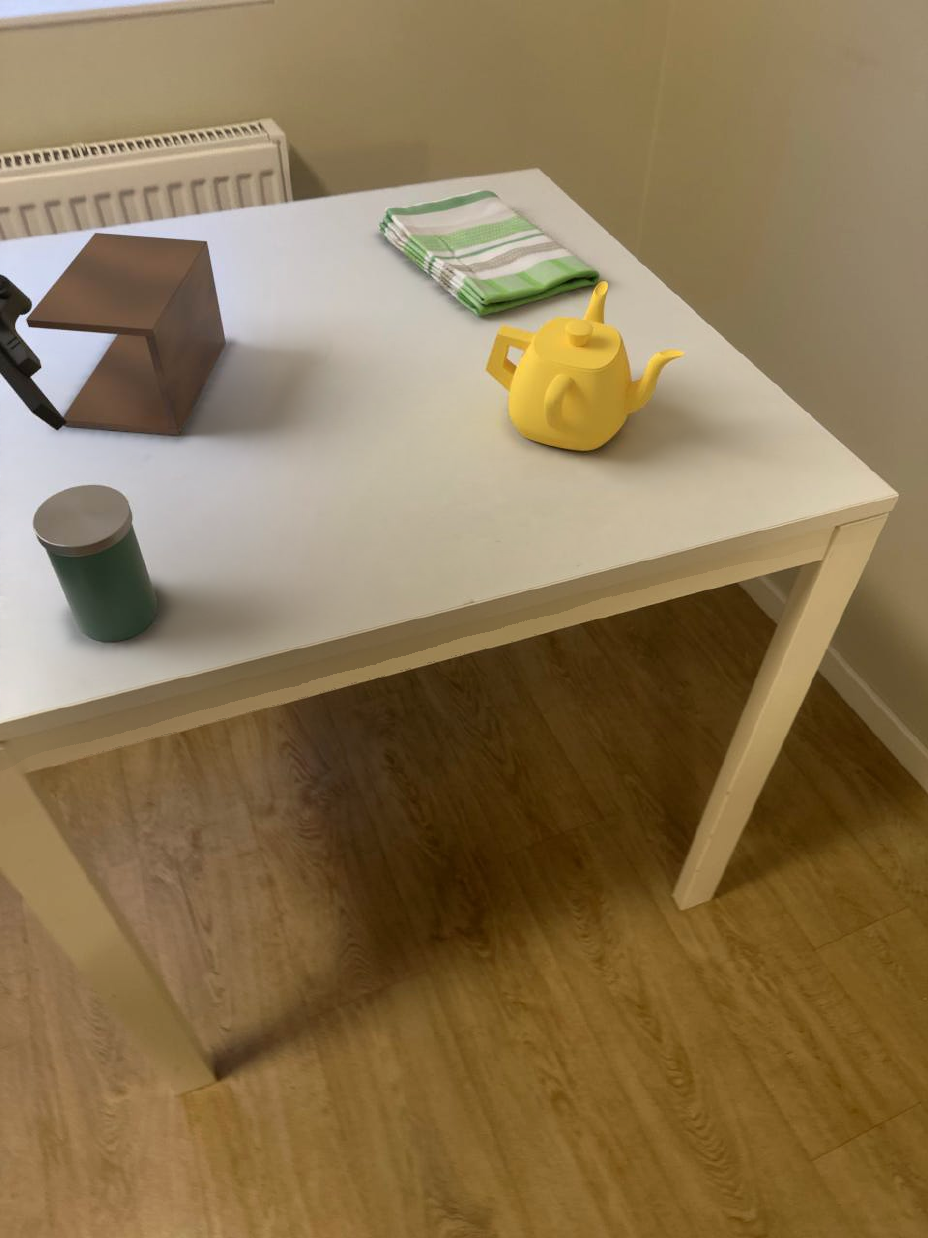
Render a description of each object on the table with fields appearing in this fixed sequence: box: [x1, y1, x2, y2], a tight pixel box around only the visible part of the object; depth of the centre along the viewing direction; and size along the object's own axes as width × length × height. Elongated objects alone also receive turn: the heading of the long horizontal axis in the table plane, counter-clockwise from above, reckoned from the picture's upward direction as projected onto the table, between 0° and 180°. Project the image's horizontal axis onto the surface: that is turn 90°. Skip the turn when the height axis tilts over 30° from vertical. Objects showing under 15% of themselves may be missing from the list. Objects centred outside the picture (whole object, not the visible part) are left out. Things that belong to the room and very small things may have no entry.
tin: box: [32, 484, 159, 643], centre depth 68 cm, size 6×6×10 cm
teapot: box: [484, 280, 685, 452], centre depth 86 cm, size 14×13×10 cm
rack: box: [25, 232, 227, 437], centre depth 88 cm, size 16×11×11 cm
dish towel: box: [378, 189, 600, 317], centre depth 109 cm, size 17×23×4 cm
